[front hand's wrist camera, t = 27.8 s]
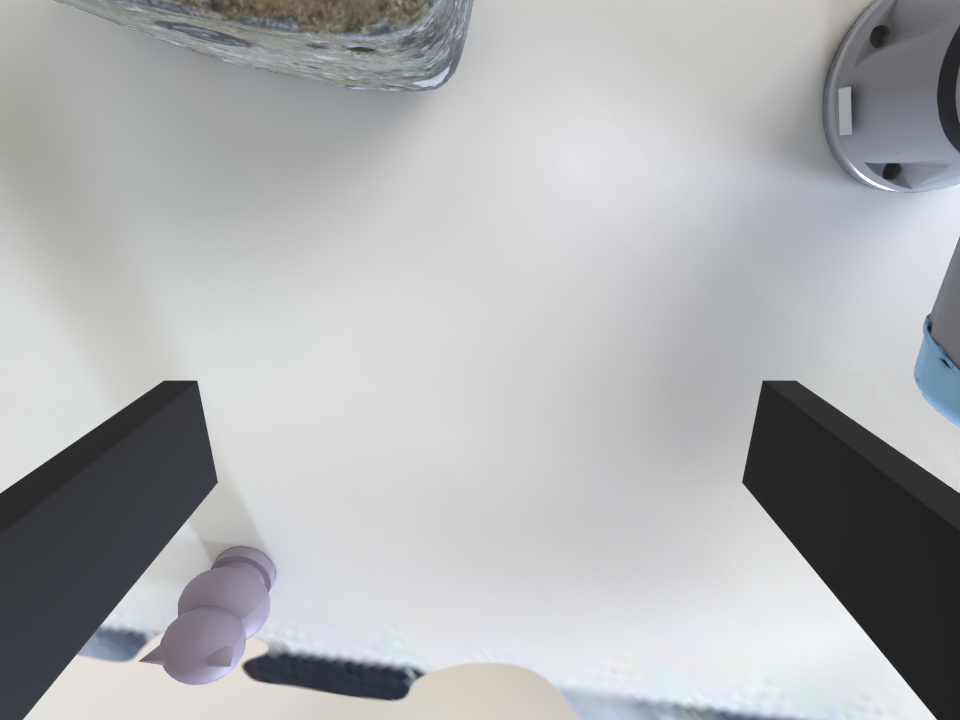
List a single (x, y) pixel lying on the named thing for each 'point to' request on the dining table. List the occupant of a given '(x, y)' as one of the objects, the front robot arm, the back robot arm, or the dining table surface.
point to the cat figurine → (217, 618)
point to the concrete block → (311, 36)
